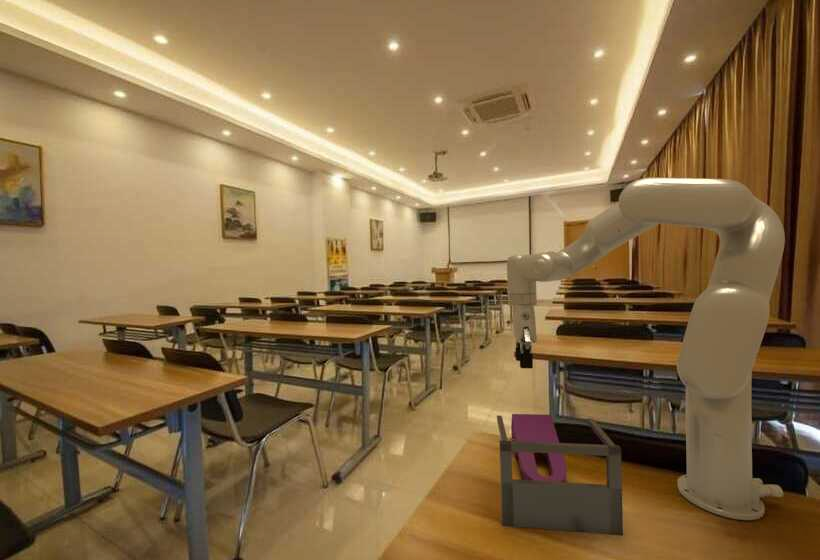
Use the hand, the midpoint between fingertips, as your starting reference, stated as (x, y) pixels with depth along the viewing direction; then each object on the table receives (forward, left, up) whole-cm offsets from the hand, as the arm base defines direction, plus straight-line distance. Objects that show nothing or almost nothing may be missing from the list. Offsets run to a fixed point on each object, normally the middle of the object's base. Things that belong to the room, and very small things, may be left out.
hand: (524, 363), depth 96 cm
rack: (0, +30, -20) cm, 36 cm away
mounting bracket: (0, +16, -20) cm, 26 cm away
